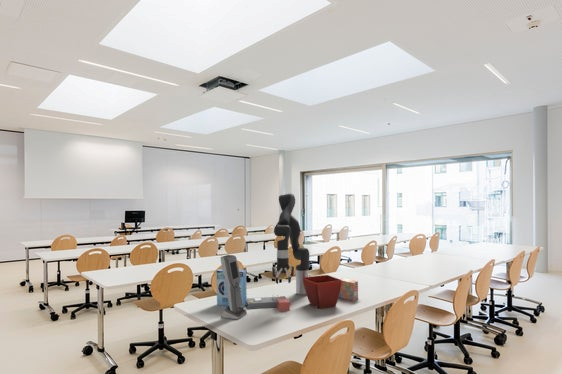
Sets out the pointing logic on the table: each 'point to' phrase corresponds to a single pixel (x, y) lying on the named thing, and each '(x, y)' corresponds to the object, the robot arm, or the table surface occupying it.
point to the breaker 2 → (275, 297)
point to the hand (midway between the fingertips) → (283, 283)
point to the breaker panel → (263, 302)
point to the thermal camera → (232, 288)
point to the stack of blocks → (349, 289)
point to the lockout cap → (283, 304)
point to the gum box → (222, 288)
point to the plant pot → (322, 290)
